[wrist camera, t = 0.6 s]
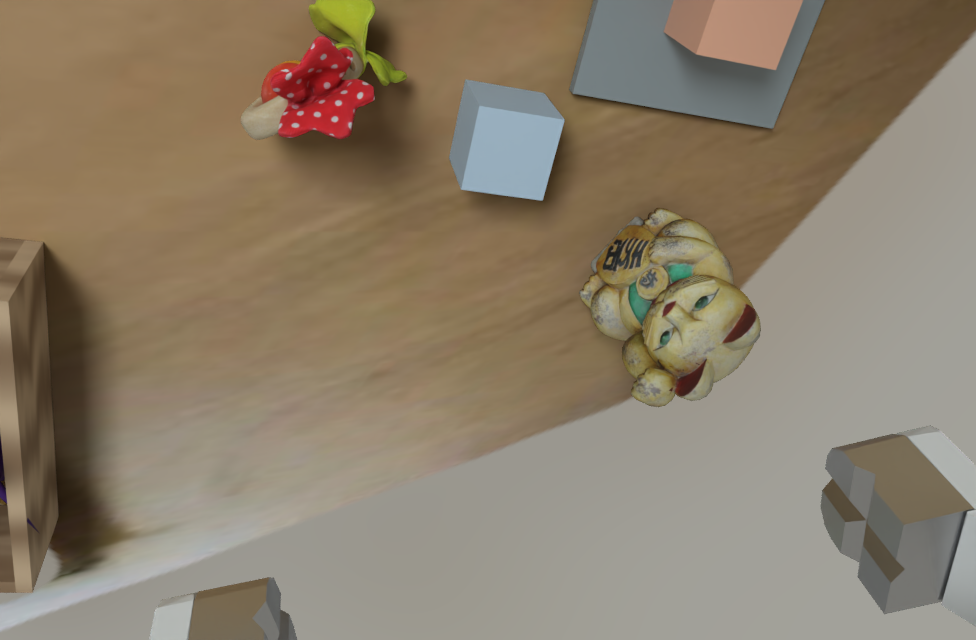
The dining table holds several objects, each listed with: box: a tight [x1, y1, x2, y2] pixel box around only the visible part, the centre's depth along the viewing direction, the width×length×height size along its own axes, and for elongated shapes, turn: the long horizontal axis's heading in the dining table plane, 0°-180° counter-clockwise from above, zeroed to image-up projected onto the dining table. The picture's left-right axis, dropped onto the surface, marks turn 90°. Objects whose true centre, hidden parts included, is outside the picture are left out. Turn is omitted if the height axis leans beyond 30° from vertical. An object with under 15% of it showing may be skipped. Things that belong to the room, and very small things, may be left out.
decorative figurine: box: [579, 208, 761, 407], centre depth 52 cm, size 10×8×15 cm
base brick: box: [664, 0, 803, 70], centre depth 46 cm, size 5×5×5 cm
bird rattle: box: [241, 0, 407, 140], centre depth 43 cm, size 6×11×9 cm
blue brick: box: [449, 79, 565, 201], centre depth 49 cm, size 5×5×5 cm
